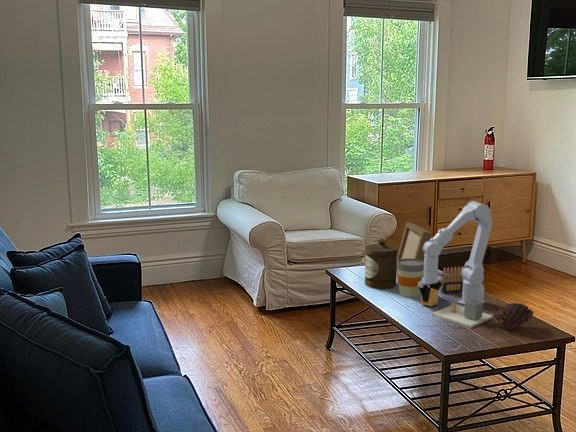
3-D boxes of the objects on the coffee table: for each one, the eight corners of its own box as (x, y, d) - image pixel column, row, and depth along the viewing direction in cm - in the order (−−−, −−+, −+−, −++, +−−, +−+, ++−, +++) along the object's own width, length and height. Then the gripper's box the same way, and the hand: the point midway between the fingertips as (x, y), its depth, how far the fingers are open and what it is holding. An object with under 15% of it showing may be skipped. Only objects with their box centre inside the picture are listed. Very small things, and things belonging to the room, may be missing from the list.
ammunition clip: (461, 290, 281) (463, 265, 279) (463, 291, 279) (465, 266, 277) (440, 292, 278) (441, 267, 276) (442, 293, 277) (443, 268, 274)
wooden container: (360, 280, 296) (361, 236, 291) (389, 279, 299) (391, 235, 294) (370, 290, 282) (371, 243, 277) (401, 288, 284) (402, 242, 280)
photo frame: (409, 282, 292) (412, 231, 287) (393, 270, 313) (396, 222, 308) (438, 281, 295) (441, 231, 290) (421, 269, 316) (423, 221, 311)
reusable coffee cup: (411, 300, 267) (412, 267, 264) (389, 293, 277) (390, 261, 274) (429, 294, 275) (431, 262, 272) (407, 287, 285) (409, 256, 282)
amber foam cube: (427, 300, 264) (428, 287, 263) (437, 303, 261) (438, 290, 260) (420, 303, 261) (421, 289, 260) (430, 306, 258) (431, 292, 256)
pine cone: (523, 320, 244) (525, 296, 242) (541, 329, 235) (544, 304, 233) (487, 326, 238) (488, 301, 236) (503, 335, 229) (505, 310, 227)
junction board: (454, 306, 260) (455, 289, 258) (492, 318, 246) (493, 300, 245) (431, 315, 249) (432, 297, 248) (470, 327, 236) (471, 309, 235)
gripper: (433, 264, 266) (431, 294, 268) (412, 270, 256) (411, 301, 259) (446, 267, 260) (445, 298, 263) (426, 274, 251) (424, 305, 254)
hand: (429, 300), depth 261 cm, fingers closed on amber foam cube, 5 cm apart
